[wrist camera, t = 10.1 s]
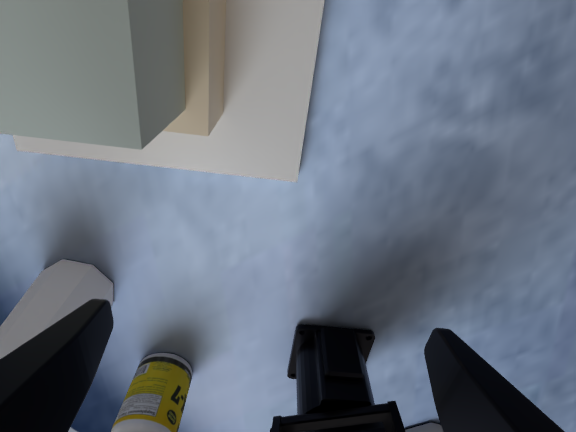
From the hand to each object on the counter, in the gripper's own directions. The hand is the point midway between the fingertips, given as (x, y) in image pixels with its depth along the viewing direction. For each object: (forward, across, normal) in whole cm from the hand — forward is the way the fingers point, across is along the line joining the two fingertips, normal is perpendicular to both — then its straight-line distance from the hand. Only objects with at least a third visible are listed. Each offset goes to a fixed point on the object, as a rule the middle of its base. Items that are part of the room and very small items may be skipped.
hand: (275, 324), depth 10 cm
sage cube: (+8, +7, -6) cm, 12 cm away
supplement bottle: (+13, +8, +21) cm, 26 cm away
